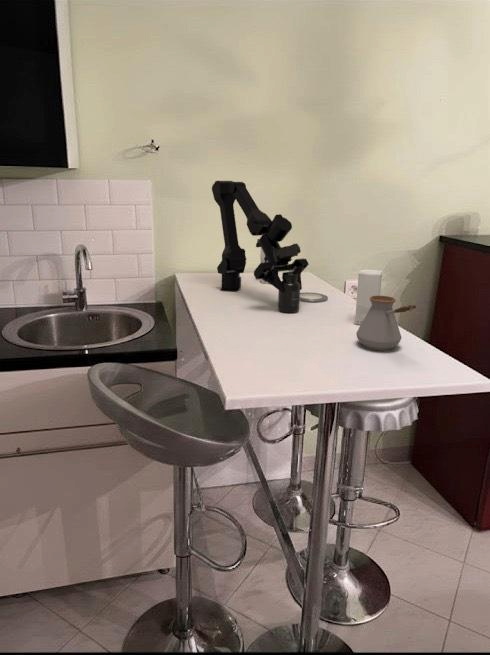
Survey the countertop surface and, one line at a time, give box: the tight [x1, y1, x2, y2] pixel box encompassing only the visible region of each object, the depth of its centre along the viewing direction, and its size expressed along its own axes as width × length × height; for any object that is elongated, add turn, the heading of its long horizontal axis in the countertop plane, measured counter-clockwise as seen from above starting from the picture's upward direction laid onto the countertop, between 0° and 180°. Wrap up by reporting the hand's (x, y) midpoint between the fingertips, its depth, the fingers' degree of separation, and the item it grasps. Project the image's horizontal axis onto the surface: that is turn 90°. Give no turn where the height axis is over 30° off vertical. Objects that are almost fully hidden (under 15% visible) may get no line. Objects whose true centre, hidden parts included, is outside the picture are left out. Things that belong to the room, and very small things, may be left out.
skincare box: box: [354, 268, 383, 326], centre depth 153 cm, size 8×7×16 cm
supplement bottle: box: [277, 271, 301, 313], centre depth 163 cm, size 7×7×12 cm
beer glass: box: [259, 247, 271, 285], centre depth 202 cm, size 7×7×15 cm
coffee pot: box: [355, 295, 420, 352], centre depth 128 cm, size 21×12×15 cm, turn 13°
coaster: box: [300, 291, 329, 303], centre depth 182 cm, size 12×12×1 cm
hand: (292, 290), depth 162 cm, fingers closed on supplement bottle, 7 cm apart
